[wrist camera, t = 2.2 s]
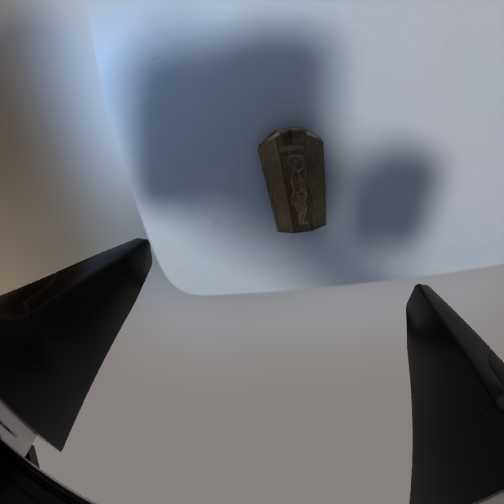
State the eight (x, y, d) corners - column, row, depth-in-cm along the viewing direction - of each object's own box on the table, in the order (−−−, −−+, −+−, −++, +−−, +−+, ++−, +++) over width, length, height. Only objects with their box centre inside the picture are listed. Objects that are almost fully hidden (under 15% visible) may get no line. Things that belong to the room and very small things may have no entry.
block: (277, 223, 19) (273, 237, 18) (256, 132, 16) (250, 137, 15) (333, 217, 18) (335, 231, 17) (319, 122, 15) (320, 126, 14)
